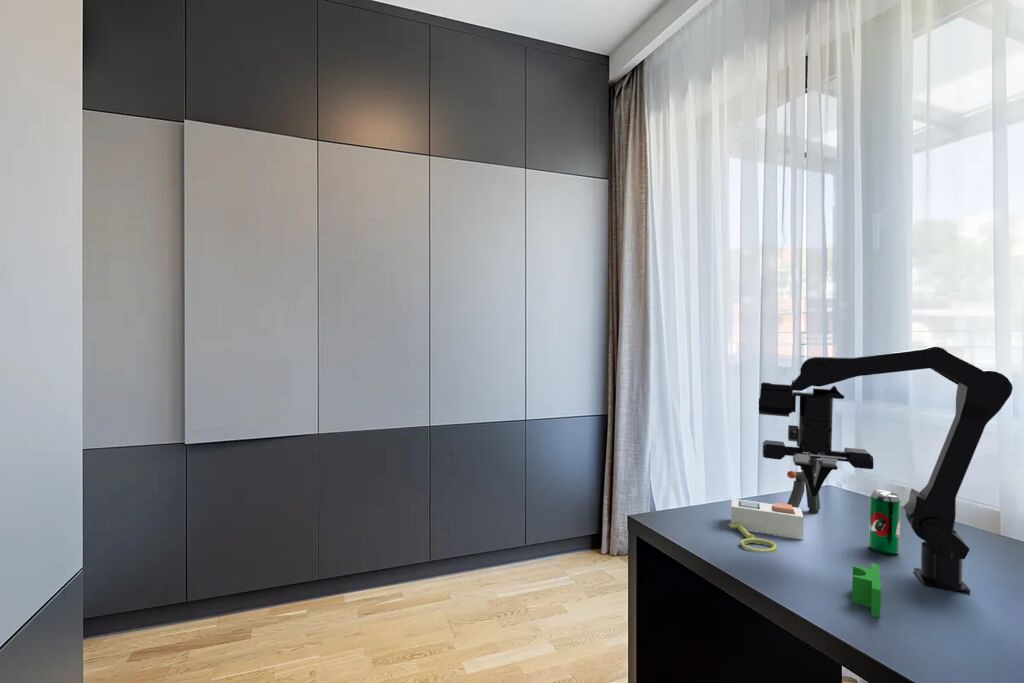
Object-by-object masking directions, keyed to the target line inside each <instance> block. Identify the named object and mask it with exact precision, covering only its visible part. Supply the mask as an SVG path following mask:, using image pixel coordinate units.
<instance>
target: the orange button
mask: <svg viewBox="0 0 1024 683" xmlns="http://www.w3.org/2000/svg"><path fill="white" fill-rule="evenodd" d="M773 504H774V511H775V512H782V513H788V514H793V508H792V505H789V504H787V503H780V502H773Z"/></svg>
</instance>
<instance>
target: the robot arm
mask: <svg viewBox="0 0 1024 683" xmlns="http://www.w3.org/2000/svg"><path fill="white" fill-rule="evenodd" d="M927 369H931V370H932V371H934V372H935V373H937V374H939V375H940V376H942V377H944V378H945V379H947V380H948V381H950V382H952V383H954V384H955V385H957V387H956V392H955V393H956V394H955V416H954V418H953V420H952V422H951V424H950V427H949V430H948V433H947V435H946V438H945V440H944V443H943V445H942V447H941V450H940V453H939V455H938V457H937V459H936V462H935V464H934V468H933V470H932V472H931V475H930V477H929V480H928V482H927V484H926V485H925V486H924V487H923V488H922V489H921V490H920V491H918V490H917V489H913V488H910V492H909V497H908V500H907V502H906V503H905V504H904V505H903V506H902V507H903V509H904V510H905V515H906V516H905V518H906V520H907V522H908V523H909V525H910V527H911V529H912V530H913V532H914V534H915V535H916V536H917V537H918V538H919V539H920V540H923V541H922V542H921V554H920V555H921V557H920V562H921V563H920V568H919V567H914V568H913V571H914V573H915V574H916V575H917V577H918V578H919V579H920V581H921V582H922V584H924V585H925V586H928V587H929V586H930V587H936V588H941V589H946V590H951V591H958V592H963V593H968V594H969V593H971V589H970V588H969V587H968V586H967V584H966V583H965V582H964V581H963V561H964V560H965V559H966V557H967V555H968V554H969V553H970V547H968V545H967V543H965V541H964V540H963V539H962V537H961V536H960V534H959V533H958V532H957V531H956V530H955V529H954V528H955V521H956V515H957V514H956V513H957V512H956V506H957V505H956V503H957V501H956V499H957V495H958V494H959V490H960V488H961V485H962V483H963V481H964V478H965V476H966V474H967V471H968V469H969V466H970V465H971V463H972V462H971V461H972V459H973V457H974V454H975V452H976V451H977V450H976V449H977V447H978V444H979V443H980V441H981V438H982V435H983V433H984V430H985V428H986V426H987V424H988V423H989V422H990V421H991V420H992V419H993V418H994V417H995V416H996V415H997V414H998V413H999V412H1000V411H1001V410H1002V408H1003V406H1005V404H1006V402H1007V401H1008V400H1009V398H1010V397H1011V395H1012V392H1013V384H1012V382H1011V381H1010V379H1009V378H1008V377H1007V376H1005V375H1004V374H1003V373H1000V372H997V371H995V370H994V371H993V370H988V369H981V368H979V367H977V366H976V365H973V364H971V363H969V362H967V361H966V360H963V359H962V358H960V357H957V356H955V355H953V354H952V353H950V352H949V351H947V350H946V349H945V348H943V347H939V346H927V347H923V348H919V349H912V350H911V349H910V350H904V351H903V350H902V351H895V352H887V353H880V354H873V355H872V354H871V355H864V356H855V357H842V356H841V357H838V356H837V357H835V356H832V357H831V356H814V357H813V356H812V357H809V358H807V359H805V360H804V361H803V363H802V365H801V367H800V374H799V375H798V376H797V377H796V378H795V379H793V380H791V384H783V383H781V384H780V383H772V382H767V381H766V382H761V383H760V394H759V395H760V396H759V398H758V414H759V415H762V416H774V417H784V418H785V417H786V418H789V417H790V414H793V413H796V410H797V409H796V408H797V397H799V412H798V413H799V414H798V415H799V417H798V425H790V424H789V425H788V429H787V440H788V441H789V442H796V446H797V447H796V446H789V445H788V446H787V445H785V443H784V442H785V441H779V440H770V439H769V440H767V439H766V440H764V441H763V442H762V457H763V458H764V459H771V460H779V461H781V460H782V459H784V457H786V456H790V457H792V462H793V464H794V466H797V467H800V468H802V470H803V471H802V470H801V471H802V472H804V475H805V478H806V481H807V484H808V487H809V490H810V494H811V496H812V497H816V496H817V494H818V492H819V493H820V490H821V488H822V487H823V484H824V482H825V480H826V479H827V477H828V476H829V474H830V473H831V472H832V471H834V470H835V471H837V470H838V469H839V468H838V466H837V463H838V462H847V463H849V464H850V465H851V466H852V467H853V468H856V469H863V470H864V469H865V470H873V469H874V456H872V455H871V453H869V451H867V449H864V448H852V447H844V450H843V451H838V450H833V449H832V446H833V445H832V443H833V442H832V440H833V438H832V437H833V407H834V406H833V403H834V401H833V400H834V399H836V400H837V399H838V400H843V399H845V395H844V394H843V393H841V392H840V391H839V389H838V387H837V386H835V385H832V384H835V383H839V382H843V381H846V380H848V379H853V378H856V377H861V376H862V377H863V376H872V375H874V376H875V375H881V374H891V373H897V372H898V373H900V372H908V371H918V370H927ZM828 385H832V387H830V388H812V392H803V391H804V390H806V389H808V388H811V387H823V386H828ZM800 391H801V392H800ZM810 458H816V459H817V465H816V473H815V480H814V482H813V471H812V464H811V462H810V461H809V460H810Z"/></svg>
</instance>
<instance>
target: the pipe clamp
mask: <svg viewBox="0 0 1024 683" xmlns="http://www.w3.org/2000/svg"><path fill="white" fill-rule="evenodd" d="M880 575H881V574H880V566H879V564H876V563H873V562H871V563H870V568H868V567H863V566H858V565H855V564H852V582H851V583H852V587H851V603H854V604H856V605H860V606H861V605H862V606H865V607H870V613H871V616H873V617H877V618H879V619H880V618H881V602H882V601H881V598H882V596H881V595H882V587H881V577H880Z"/></svg>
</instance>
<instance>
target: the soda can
mask: <svg viewBox="0 0 1024 683" xmlns="http://www.w3.org/2000/svg"><path fill="white" fill-rule="evenodd" d="M869 499H870V500H869V522H868V523H869V527H868V528H869V530H868V532H869V533H868V535H869V536H868V545H869V547H870V548H871V549H872V550H873V551H874V552H876V553H880V554H884V555H888V556H891V555H896V554H898V553H899V552H900V536H901V535H900V530H901V502H902V501H901V499H900V498H899V495H898V493H895V492H892V491H888V490H880V489H874V490H872V493H871V494H870V496H869Z"/></svg>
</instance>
